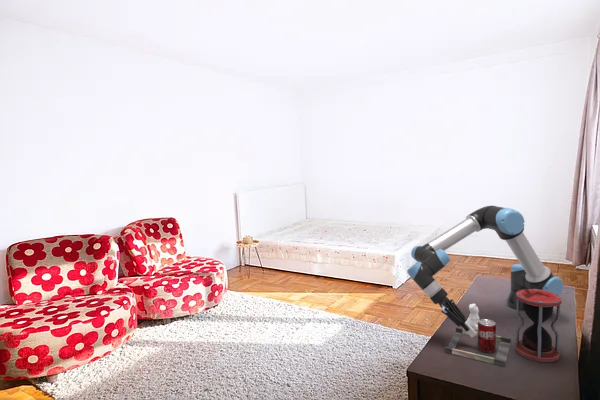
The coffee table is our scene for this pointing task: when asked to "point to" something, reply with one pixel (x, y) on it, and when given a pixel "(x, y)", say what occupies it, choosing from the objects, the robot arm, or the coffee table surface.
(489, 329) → the soda can
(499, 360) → the square frame
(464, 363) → the coffee table surface
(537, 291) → the hourglass
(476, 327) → the white creature statuette
